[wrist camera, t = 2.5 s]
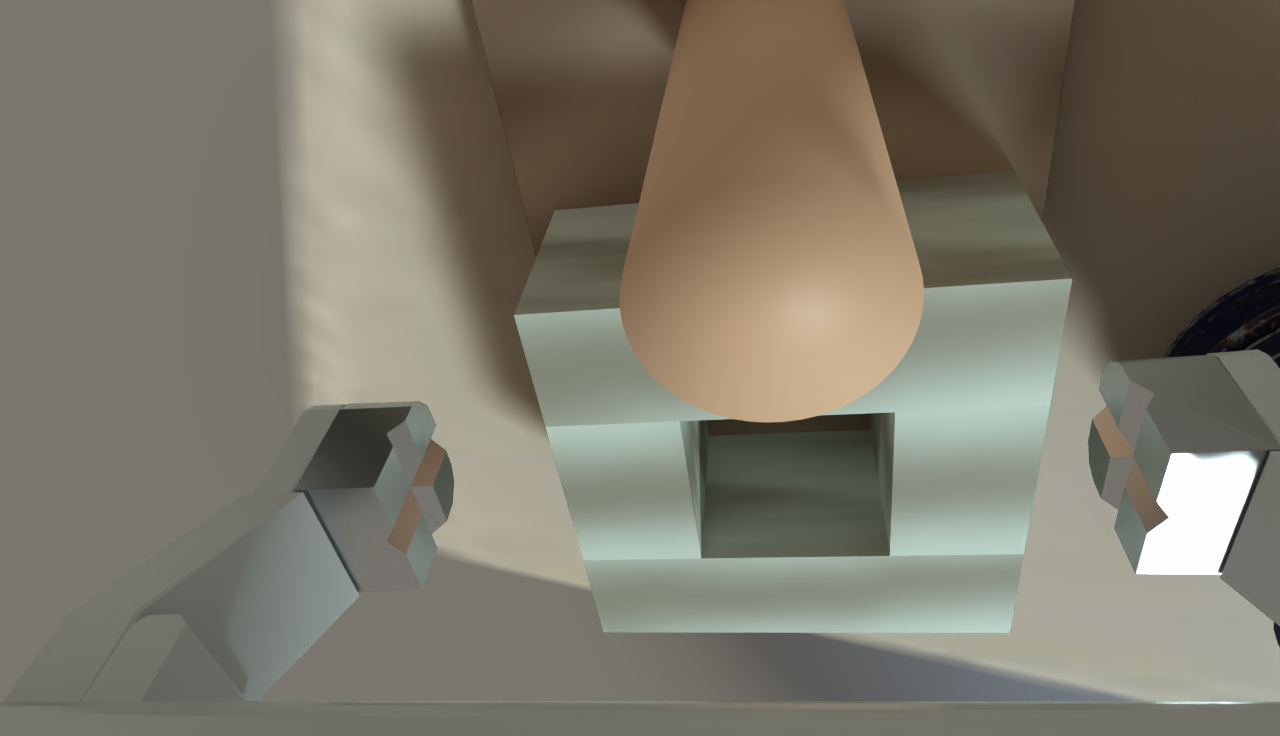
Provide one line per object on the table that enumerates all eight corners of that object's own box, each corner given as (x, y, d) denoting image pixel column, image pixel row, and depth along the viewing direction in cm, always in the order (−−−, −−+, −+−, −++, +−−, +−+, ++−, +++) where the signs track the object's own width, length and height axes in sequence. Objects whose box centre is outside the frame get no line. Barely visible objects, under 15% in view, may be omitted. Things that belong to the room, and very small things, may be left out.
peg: (877, 35, 24) (982, 333, 13) (747, 132, 26) (739, 461, 15) (781, -103, 22) (806, 103, 11) (650, 13, 24) (559, 286, 13)
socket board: (993, 474, 35) (1041, 632, 29) (605, 485, 38) (577, 632, 32) (1091, -252, 20) (1225, -229, 15) (452, -147, 23) (349, -93, 17)
